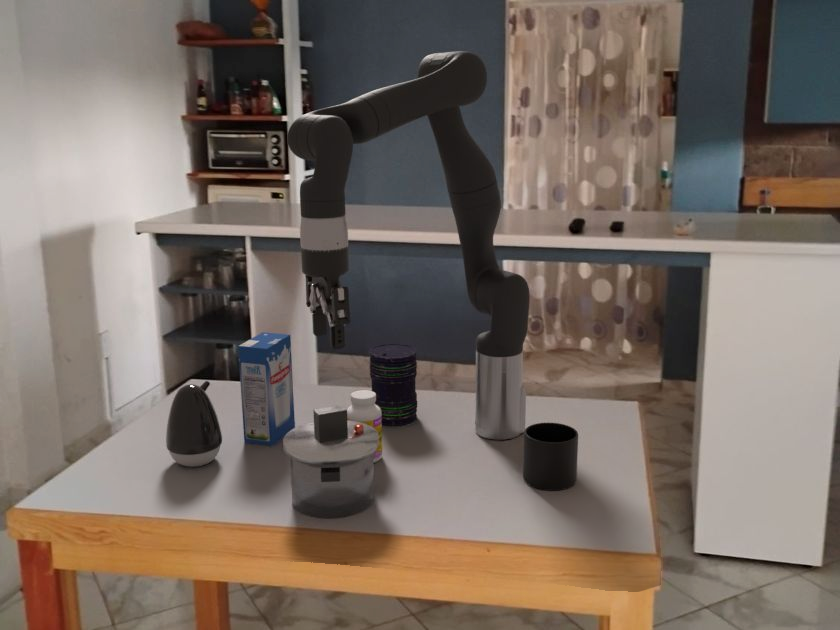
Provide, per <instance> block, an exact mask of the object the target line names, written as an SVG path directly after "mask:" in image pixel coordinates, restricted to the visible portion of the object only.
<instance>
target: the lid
mask: <svg viewBox="0 0 840 630" xmlns="http://www.w3.org/2000/svg"><path fill="white" fill-rule="evenodd" d="M347 409H348V408H345V406H343V404H338V405H332V406H327V407H326V406H325V407H321V408H320V407H319V408H316V409H315V408H314V409H312V411H313V421H312V422H308V423H303V424H302V425H301V424H300V425H299V426H295V428H294V429H292V430H291V431H289V432H288V433H287V434H286V435H285V436H284V437H283V438H282V442H283V443H282V446H283V447H282V448H283V451H284V453H285V454H286V455H287V456H288V457H289V458H290V457H291V458H293V459H295V460H298V461H301V462H306V463H311V464H340V463H347V462H352V461H356V460H359V459H362V458H364V457H366V456H368V455H370V454H372V453H373V452H374V451H375V450H376V449H377V448H378V446H379V434H378V432H377V431H376V430H375V429H374V428H373V427H371V426H369V425H367V424H364V423H361V422H356V421H350V420H347Z"/></svg>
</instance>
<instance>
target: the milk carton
mask: <svg viewBox="0 0 840 630" xmlns="http://www.w3.org/2000/svg"><path fill="white" fill-rule="evenodd" d="M291 338H292V337H291V334H286V333H277V332H276V333H275V332H266V331H265V332H263V331H262V332H260V333H259V334H257V335H255V336H253V337H252V338H250V339H248V340H246V341H244V342H243V343H241V344H239V345H237V350H238V363H239V365H238V367H239V381H240V383H239V384H240V393H241V394H240V396H241V408H242V409H241V411H242V426H243V427H242V428H243V438H244V439H243V441H244V443H247V444H254V445H255V444H256V445H259V446H260V445H263V446H270V447H273V446H274V445H276V444H277V443H278V442H279V441H281V440H283V439H284V436H285V435H286V434H287V433H288V432H289V431H291V430H292V429H294V428H296V425H295V423H296V422H295V421H296V420H295V402H294V399H295V398H294V382H293V380H294V379H293V365H292V364H293V361H292V359H293V357H292V344H291V343H292V341H291Z"/></svg>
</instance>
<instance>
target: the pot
mask: <svg viewBox="0 0 840 630" xmlns="http://www.w3.org/2000/svg"><path fill="white" fill-rule="evenodd" d="M289 464H290V465H289V468H290V481H291V482H290V483H291V486H290V487H291V500H292V501H291V502H292V506H293V507H294V509H295V510H296V511H297V512H299V513H301V514H303V515H305V516H308V517H313V518H317V519H318V518H320V519H338V518H340V519H341V518H345V517H350V516H353V515H356V514H357V515H358V514H359V513H362V512H363V511H365V510H367V509H368V508H370V506H372V504H373V503H374V500H375V473H374V472H375V471H374V470H375V469H374V463H373V453H372V454H370V455H368V456H366V457H364V458H362V459H359V460H356V461H352V462H347V463H340V464H311V463H306V462H301V461H298V460H295V459H293V458H291V457H290V456H289Z"/></svg>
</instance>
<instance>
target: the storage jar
mask: <svg viewBox="0 0 840 630" xmlns="http://www.w3.org/2000/svg"><path fill="white" fill-rule="evenodd" d="M416 355H417V349H416V348H415V347H413V346H411V345H408V344H401V343H387V344H380V345H377V346H374V347H372V348H370V349H369V376H370V377H369V378H370V379H371V391H373V392H375V394H376V401H375V404H376V405H377V406H379V407H380V409H381V414H382V427H385V428H400V427H401V428H402V427H407V426H409V425H412V424H414V423H415V422H416V421H417V420H418V416H417V412H418V394H417V392H416V391H417V390H416V389H417V388H416V377H417V372H418V371H417V369H418V368H417V367H418V365H417V364H418V362H417V356H416Z"/></svg>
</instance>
